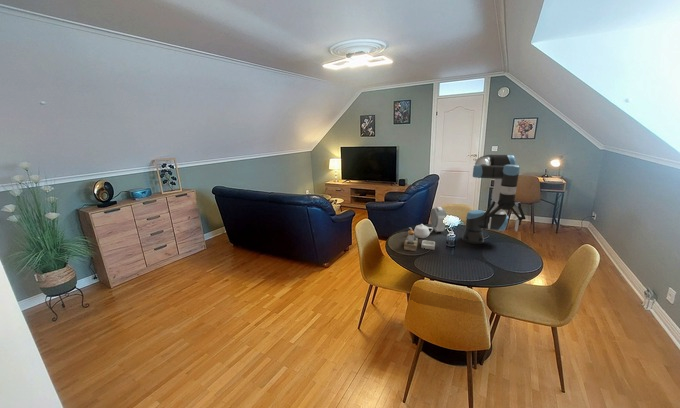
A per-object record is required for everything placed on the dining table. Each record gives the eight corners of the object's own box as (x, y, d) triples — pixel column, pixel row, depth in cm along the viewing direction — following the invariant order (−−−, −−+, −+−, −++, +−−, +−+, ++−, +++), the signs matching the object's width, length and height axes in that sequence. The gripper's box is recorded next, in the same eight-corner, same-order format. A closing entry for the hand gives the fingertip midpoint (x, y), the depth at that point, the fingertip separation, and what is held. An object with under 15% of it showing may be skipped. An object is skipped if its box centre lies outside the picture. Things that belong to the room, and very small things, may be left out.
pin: (407, 246, 202) (408, 229, 198) (413, 247, 200) (414, 230, 197) (406, 248, 198) (407, 231, 194) (413, 249, 196) (414, 232, 193)
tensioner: (406, 241, 210) (407, 233, 208) (417, 243, 207) (417, 235, 205) (403, 249, 197) (404, 240, 195) (415, 250, 194) (415, 242, 192)
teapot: (411, 239, 213) (411, 227, 210) (405, 233, 225) (406, 222, 222) (435, 238, 215) (436, 226, 212) (429, 232, 227) (430, 220, 224)
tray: (422, 243, 206) (422, 240, 206) (434, 244, 203) (435, 241, 203) (421, 248, 198) (421, 244, 198) (434, 249, 195) (434, 246, 195)
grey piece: (446, 234, 222) (448, 210, 217) (435, 234, 222) (437, 210, 217) (438, 226, 240) (440, 204, 234) (428, 226, 240) (430, 204, 234)
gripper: (483, 193, 151) (478, 229, 157) (536, 196, 143) (529, 234, 149) (481, 190, 158) (477, 224, 164) (532, 192, 150) (525, 229, 156)
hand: (502, 229), depth 157 cm, fingers open, 13 cm apart
